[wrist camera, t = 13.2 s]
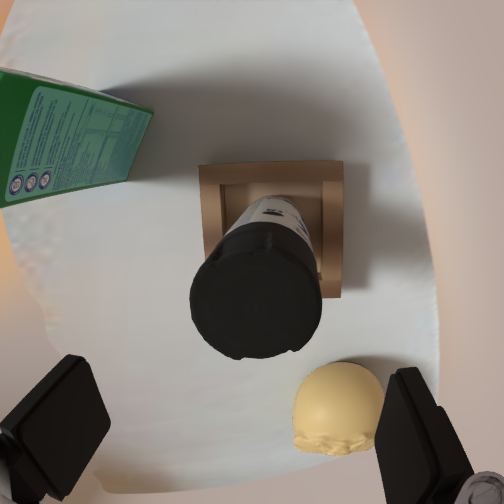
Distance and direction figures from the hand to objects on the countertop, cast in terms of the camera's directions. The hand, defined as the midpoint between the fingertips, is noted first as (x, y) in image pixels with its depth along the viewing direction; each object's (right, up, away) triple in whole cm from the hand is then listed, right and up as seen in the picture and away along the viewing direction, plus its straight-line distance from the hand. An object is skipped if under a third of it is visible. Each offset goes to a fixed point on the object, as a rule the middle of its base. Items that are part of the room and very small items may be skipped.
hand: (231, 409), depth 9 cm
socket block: (+3, +7, +27) cm, 28 cm away
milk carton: (-16, +19, +26) cm, 36 cm away
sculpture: (+12, -14, +32) cm, 37 cm away
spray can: (+3, +7, +26) cm, 27 cm away
